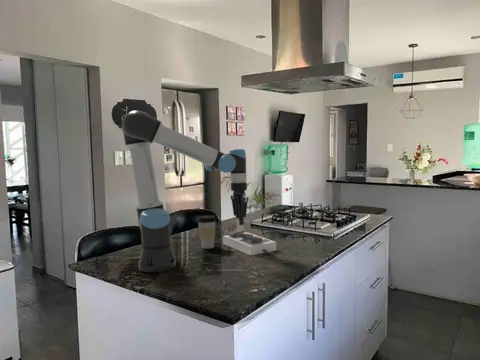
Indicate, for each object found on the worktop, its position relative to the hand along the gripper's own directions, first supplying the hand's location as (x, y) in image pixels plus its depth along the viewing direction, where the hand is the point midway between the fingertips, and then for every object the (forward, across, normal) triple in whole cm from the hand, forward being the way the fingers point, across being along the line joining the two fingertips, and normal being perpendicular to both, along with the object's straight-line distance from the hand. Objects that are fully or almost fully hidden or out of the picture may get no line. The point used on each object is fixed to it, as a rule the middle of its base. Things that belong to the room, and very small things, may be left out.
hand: (240, 231), depth 185 cm
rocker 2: (+3, 0, -2) cm, 3 cm away
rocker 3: (+3, -8, -2) cm, 9 cm away
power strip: (+8, -4, -4) cm, 10 cm away
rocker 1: (+3, +8, -2) cm, 9 cm away
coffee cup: (+8, +12, +12) cm, 19 cm away
